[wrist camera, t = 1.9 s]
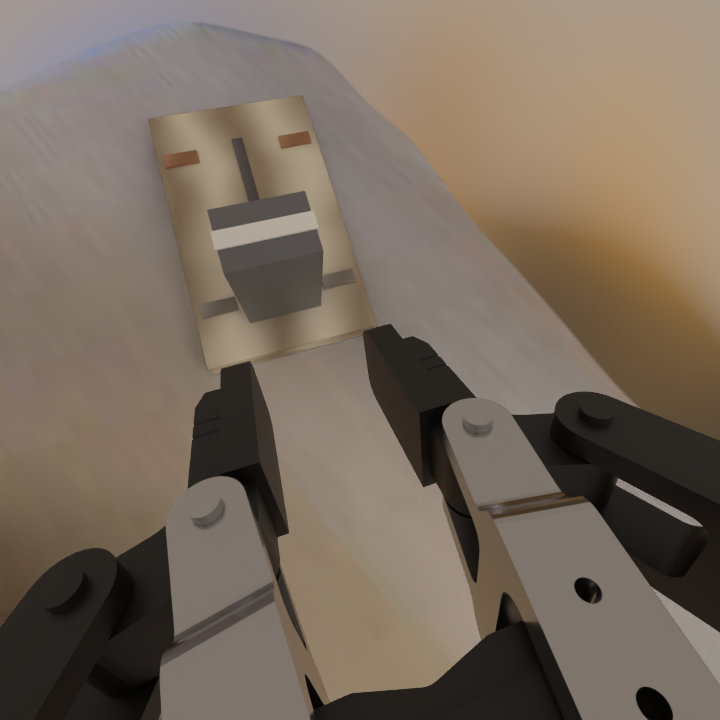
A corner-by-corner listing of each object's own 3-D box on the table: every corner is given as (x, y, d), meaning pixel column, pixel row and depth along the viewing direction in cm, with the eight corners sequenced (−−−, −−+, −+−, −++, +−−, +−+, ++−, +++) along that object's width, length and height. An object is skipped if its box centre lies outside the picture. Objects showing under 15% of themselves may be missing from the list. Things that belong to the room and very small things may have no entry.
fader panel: (215, 374, 28) (206, 368, 26) (158, 139, 31) (146, 116, 29) (372, 332, 30) (376, 323, 28) (303, 115, 33) (302, 93, 31)
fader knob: (248, 323, 26) (220, 273, 18) (236, 277, 27) (204, 209, 19) (322, 305, 27) (325, 249, 19) (309, 260, 28) (306, 189, 20)
